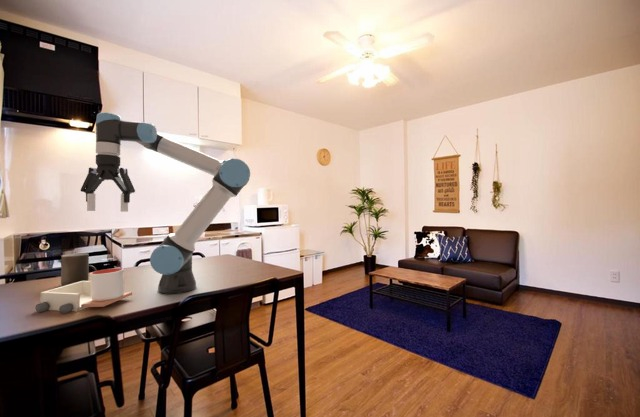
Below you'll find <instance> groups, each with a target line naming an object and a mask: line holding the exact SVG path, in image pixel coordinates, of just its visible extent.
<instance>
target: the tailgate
mask: <svg viewBox="0 0 640 417" xmlns="http://www.w3.org/2000/svg"><path fill="white" fill-rule="evenodd" d="M130 296H133V292H131V291H129V292H125V291H124V294H123V295H122V296H120V297H118V298H115V299H111V300H106V301H94V300H92V301H89V302H86V303H84V304H82V305H81V306H82V307H88V308H98V307H99V308H100V307H101V308H102V307H106V306H108V305H111V304H114V303H115V302H117V301H120V300H124V299H125V298H128V297H130Z"/></svg>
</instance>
